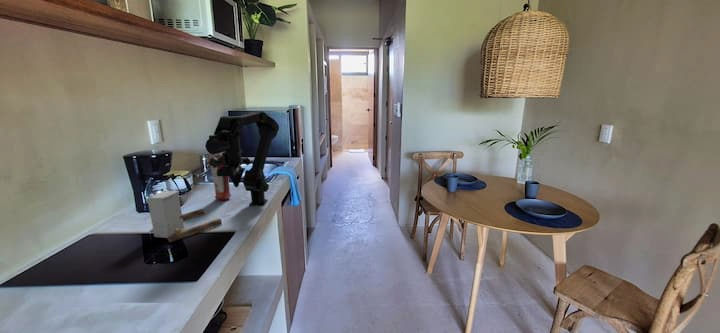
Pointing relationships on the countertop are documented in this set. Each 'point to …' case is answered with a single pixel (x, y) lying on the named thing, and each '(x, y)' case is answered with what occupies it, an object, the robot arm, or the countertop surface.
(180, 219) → the skincare box
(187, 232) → the guide track
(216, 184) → the red white cylinder
